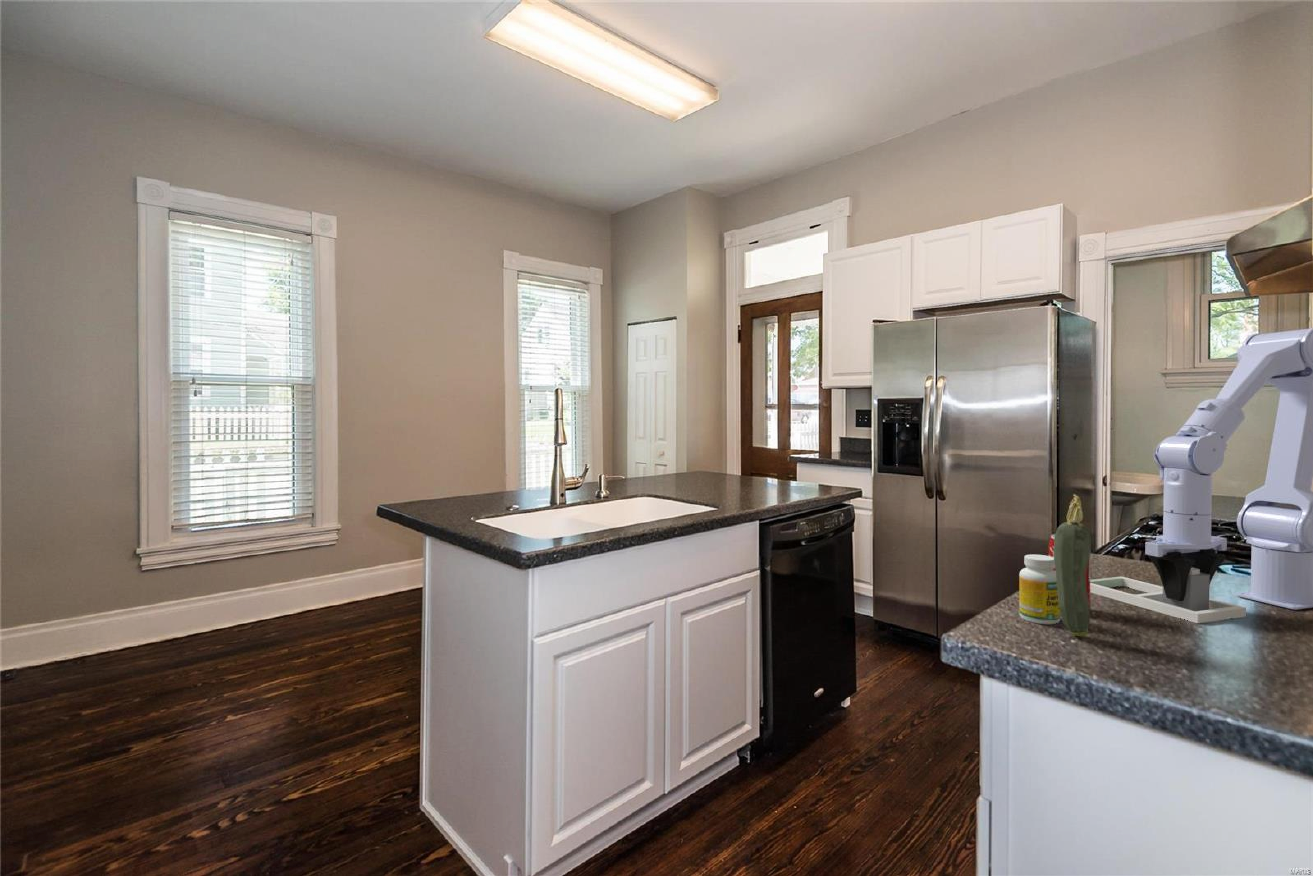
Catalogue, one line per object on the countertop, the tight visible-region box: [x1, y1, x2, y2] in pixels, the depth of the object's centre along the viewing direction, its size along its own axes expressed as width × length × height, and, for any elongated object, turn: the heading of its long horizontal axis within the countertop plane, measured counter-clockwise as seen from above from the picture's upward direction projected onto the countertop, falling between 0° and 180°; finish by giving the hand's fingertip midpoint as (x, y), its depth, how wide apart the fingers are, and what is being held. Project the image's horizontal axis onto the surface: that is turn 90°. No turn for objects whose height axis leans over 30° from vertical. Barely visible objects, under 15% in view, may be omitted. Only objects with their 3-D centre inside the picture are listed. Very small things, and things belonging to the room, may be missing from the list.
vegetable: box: [1054, 494, 1092, 638], centre depth 86 cm, size 4×4×20 cm
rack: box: [1090, 576, 1247, 624], centre depth 101 cm, size 10×19×1 cm, turn 15°
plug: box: [1162, 568, 1211, 611], centre depth 96 cm, size 4×4×7 cm
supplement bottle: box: [1018, 553, 1061, 625], centre depth 93 cm, size 5×5×10 cm
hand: (1185, 598), depth 96 cm, fingers closed on plug, 4 cm apart
